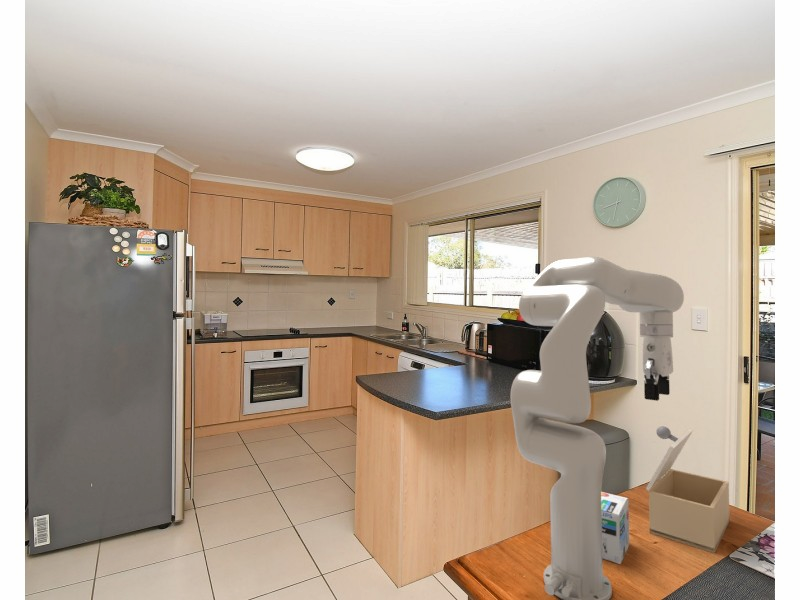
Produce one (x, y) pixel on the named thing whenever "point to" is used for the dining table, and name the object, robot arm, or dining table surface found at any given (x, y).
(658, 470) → the flap
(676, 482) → the beige box
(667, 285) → the robot arm
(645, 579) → the dining table surface
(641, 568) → the dining table surface
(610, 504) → the light bulb box
